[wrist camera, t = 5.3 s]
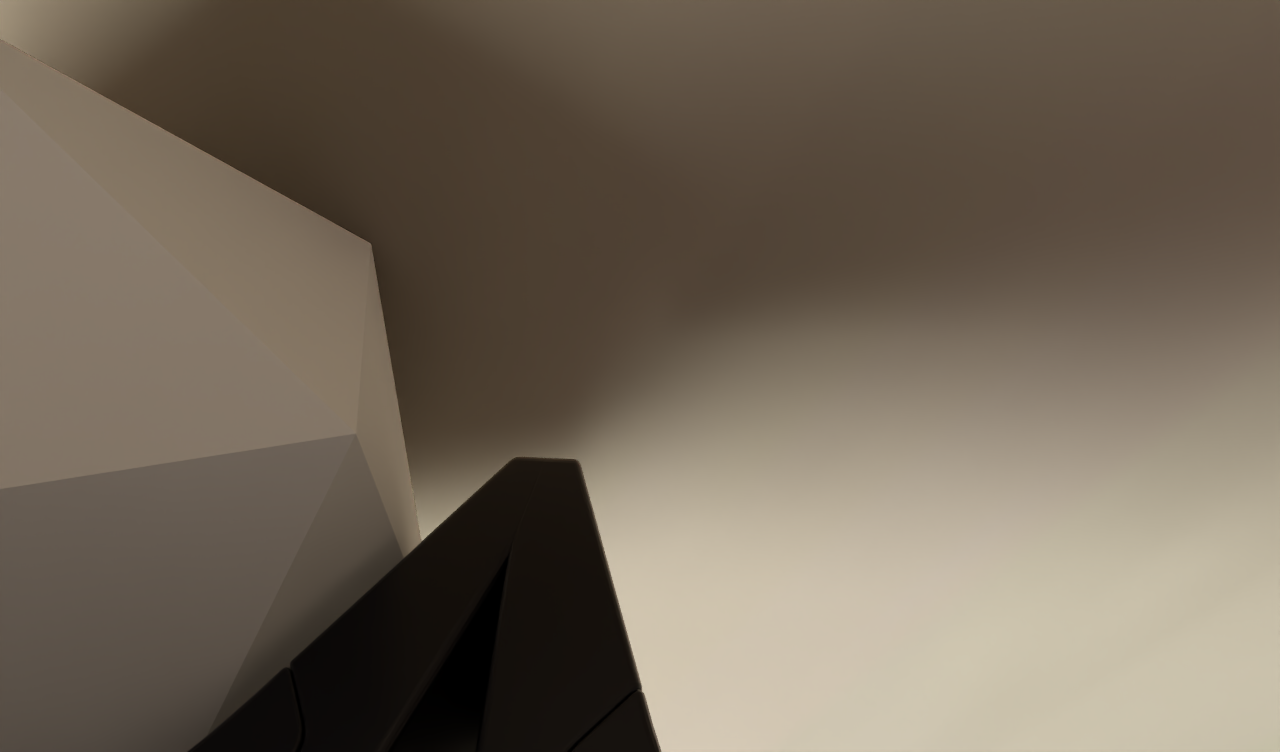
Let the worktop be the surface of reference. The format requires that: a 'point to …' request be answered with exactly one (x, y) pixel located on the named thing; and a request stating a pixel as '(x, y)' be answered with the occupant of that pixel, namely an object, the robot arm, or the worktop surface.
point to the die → (174, 427)
